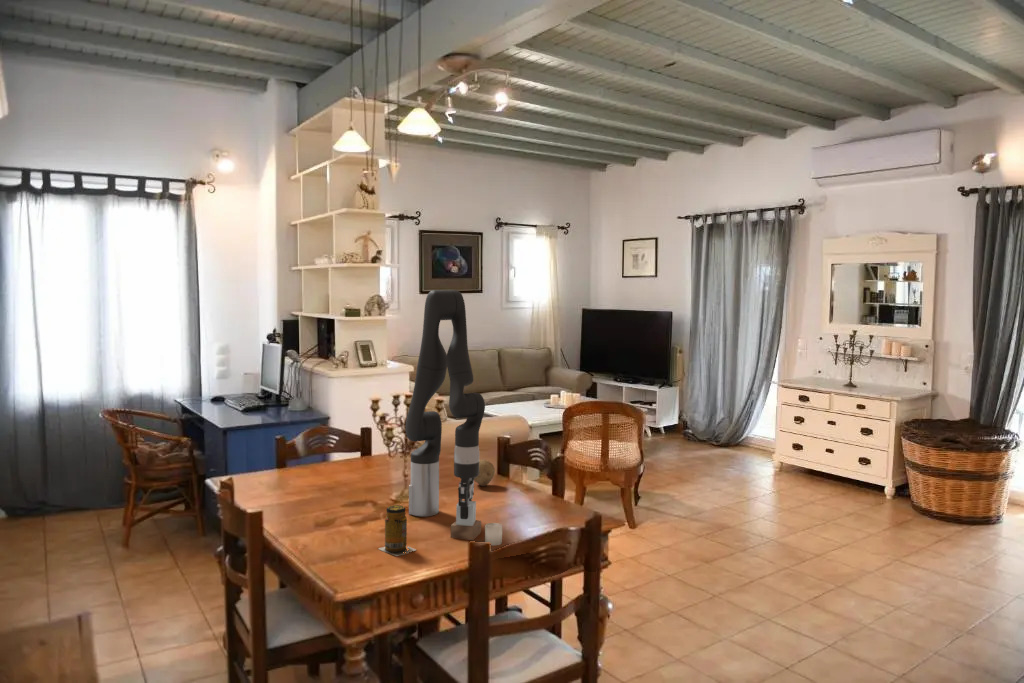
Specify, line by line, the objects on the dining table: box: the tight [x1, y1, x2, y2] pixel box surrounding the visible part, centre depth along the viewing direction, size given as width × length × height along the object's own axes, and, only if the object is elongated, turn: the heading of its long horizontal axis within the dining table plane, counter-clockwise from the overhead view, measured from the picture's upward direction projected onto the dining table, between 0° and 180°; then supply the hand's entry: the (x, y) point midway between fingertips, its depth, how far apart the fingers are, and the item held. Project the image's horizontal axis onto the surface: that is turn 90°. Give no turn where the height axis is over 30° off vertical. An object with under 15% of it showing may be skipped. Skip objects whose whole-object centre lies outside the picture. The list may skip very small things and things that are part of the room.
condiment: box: [377, 504, 417, 557], centre depth 208 cm, size 7×8×12 cm
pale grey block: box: [455, 499, 477, 526], centre depth 221 cm, size 5×5×6 cm
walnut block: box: [450, 520, 482, 541], centre depth 221 cm, size 7×7×4 cm
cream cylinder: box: [484, 522, 503, 546], centre depth 215 cm, size 5×5×5 cm
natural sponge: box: [474, 459, 496, 487], centre depth 274 cm, size 9×9×10 cm
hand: (466, 515), depth 221 cm, fingers open, 6 cm apart
